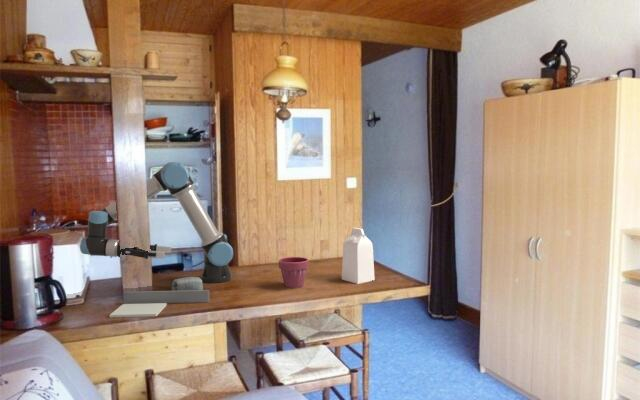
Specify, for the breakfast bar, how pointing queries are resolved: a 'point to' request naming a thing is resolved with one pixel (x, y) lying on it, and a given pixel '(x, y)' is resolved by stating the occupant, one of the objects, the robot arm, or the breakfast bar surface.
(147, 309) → the mat
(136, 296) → the low wall
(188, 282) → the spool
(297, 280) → the plant pot
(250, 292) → the breakfast bar surface
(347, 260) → the milk
